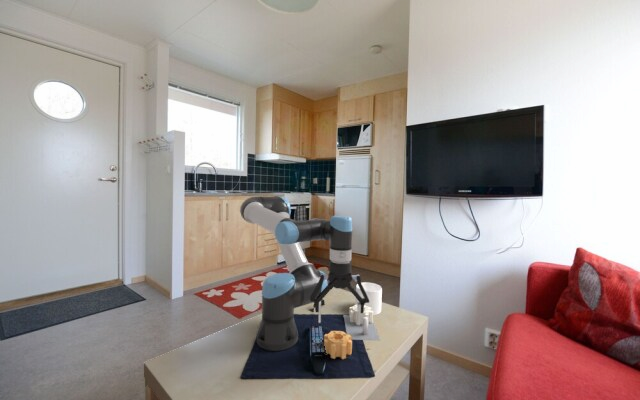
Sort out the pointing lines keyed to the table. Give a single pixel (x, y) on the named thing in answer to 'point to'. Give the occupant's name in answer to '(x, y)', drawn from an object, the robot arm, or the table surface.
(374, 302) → the cup
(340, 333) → the gear
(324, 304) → the black boxy piece
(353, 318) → the gear
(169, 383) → the table surface
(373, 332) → the gear board
